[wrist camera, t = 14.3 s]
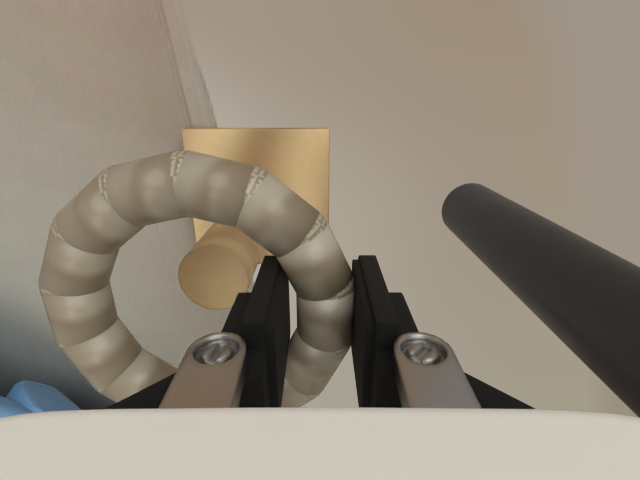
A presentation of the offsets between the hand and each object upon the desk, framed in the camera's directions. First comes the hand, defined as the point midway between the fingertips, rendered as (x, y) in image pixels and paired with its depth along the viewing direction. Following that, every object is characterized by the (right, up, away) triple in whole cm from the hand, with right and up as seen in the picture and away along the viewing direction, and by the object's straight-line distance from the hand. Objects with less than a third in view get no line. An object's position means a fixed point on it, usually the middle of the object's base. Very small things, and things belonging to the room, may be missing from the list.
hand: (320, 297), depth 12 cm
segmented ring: (-4, 0, -1) cm, 4 cm away
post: (-4, +5, +13) cm, 14 cm away
